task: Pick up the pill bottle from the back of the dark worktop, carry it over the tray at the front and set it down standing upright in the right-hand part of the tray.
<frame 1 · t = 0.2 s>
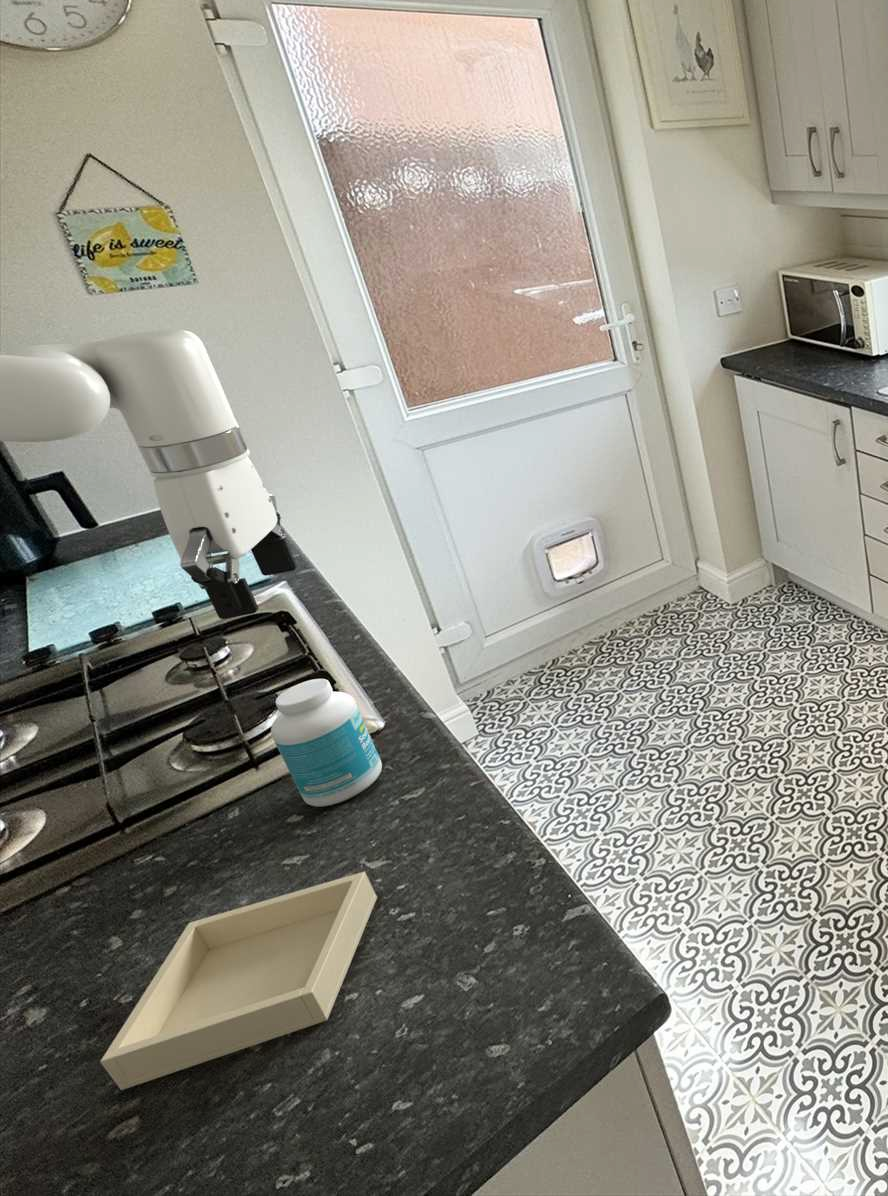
hand: (261, 592, 87), 24 cm above the counter, tool pointing down, fingers open, 9 cm apart
pill bottle: (346, 786, 92), on the counter
tray: (263, 983, 69), on the counter
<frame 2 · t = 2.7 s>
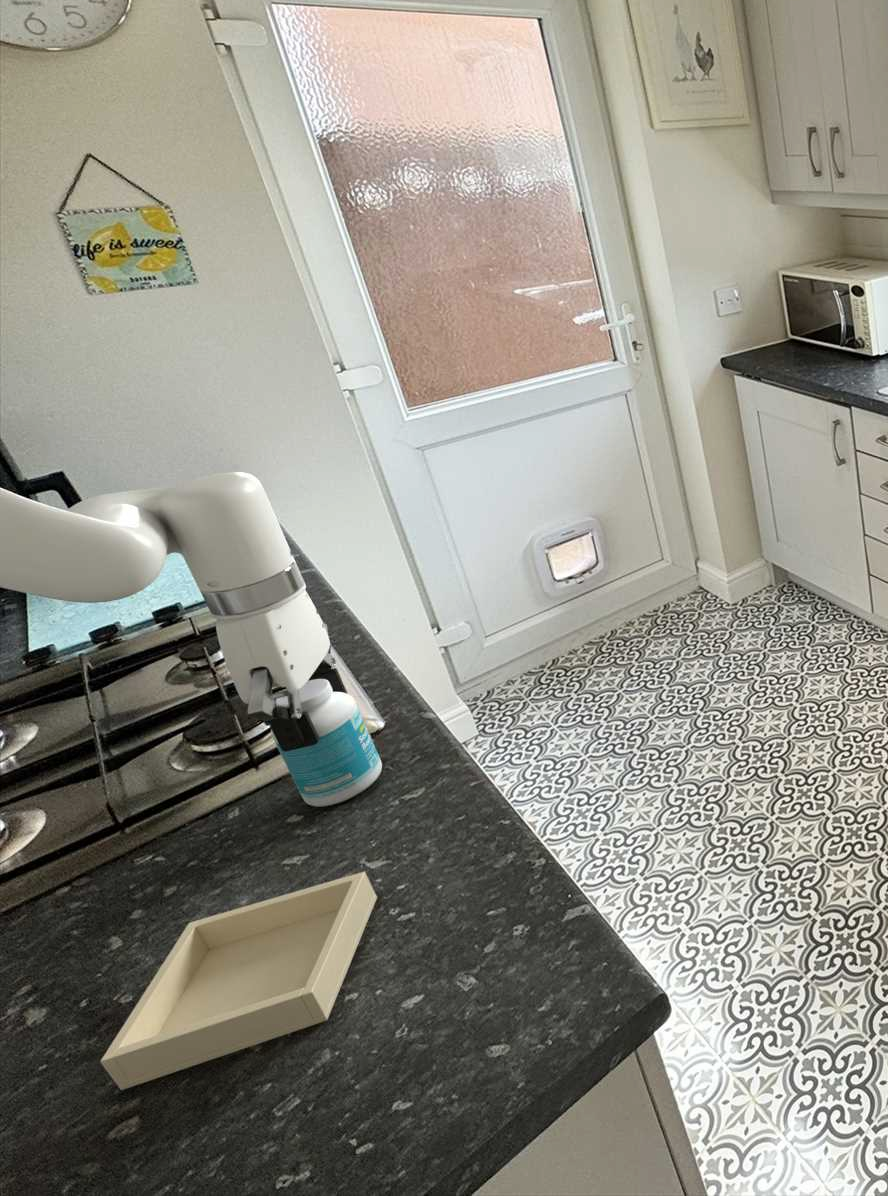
hand: (316, 721, 88), 9 cm above the counter, tool pointing down, fingers closed on pill bottle, 7 cm apart
pill bottle: (346, 786, 92), on the counter, touching gripper
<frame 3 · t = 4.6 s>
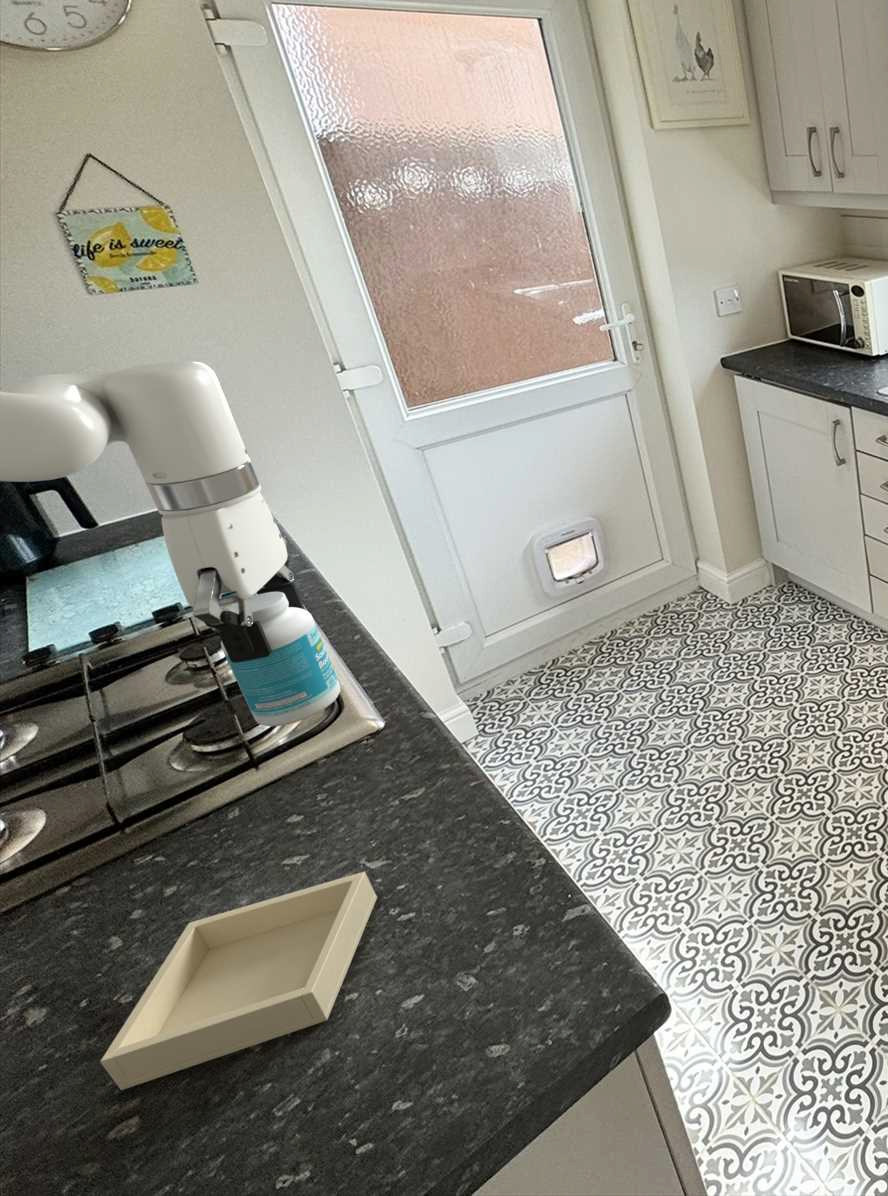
hand: (270, 636, 83), 21 cm above the counter, tool pointing down, fingers closed on pill bottle, 7 cm apart
pill bottle: (301, 708, 87), point 12 cm above the counter, touching gripper
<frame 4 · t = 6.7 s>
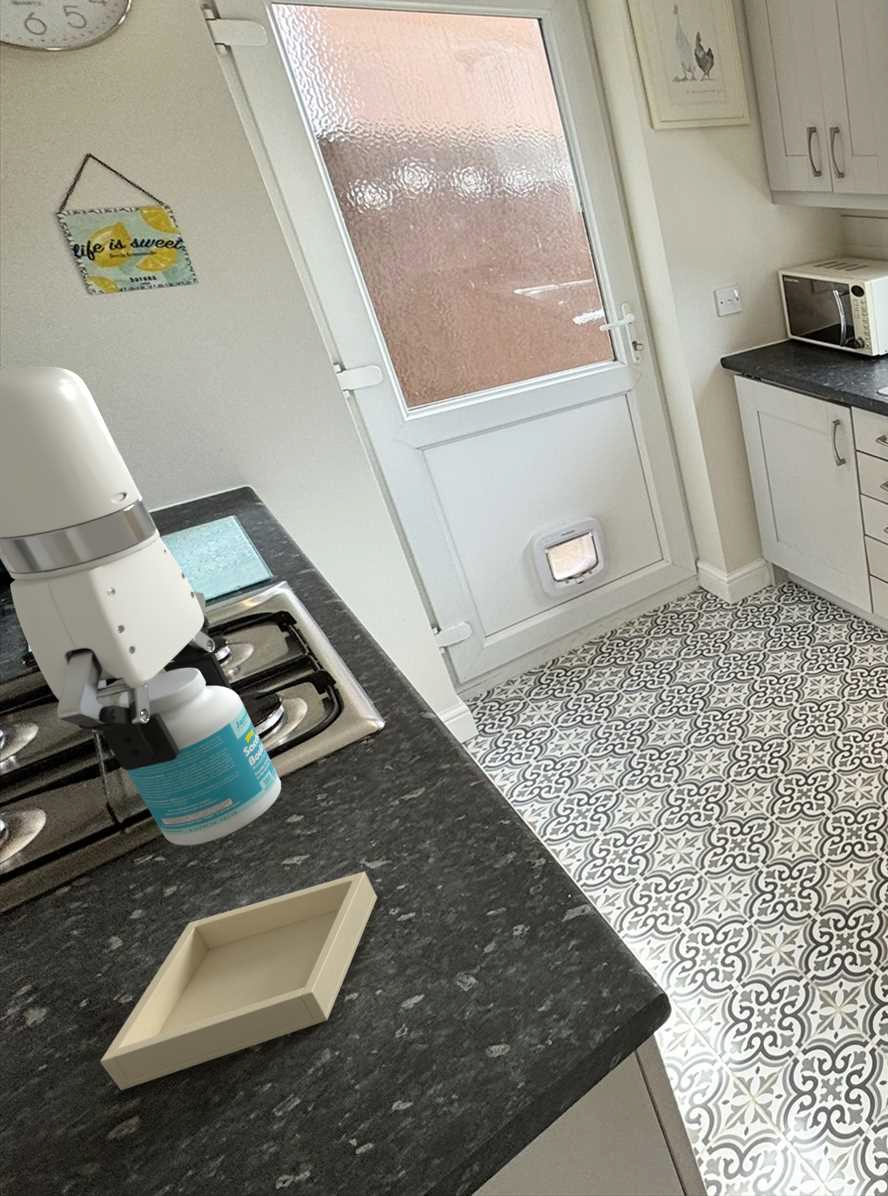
hand: (181, 727, 63), 26 cm above the counter, tool pointing down, fingers closed on pill bottle, 7 cm apart
pill bottle: (229, 815, 67), point 16 cm above the counter, touching gripper
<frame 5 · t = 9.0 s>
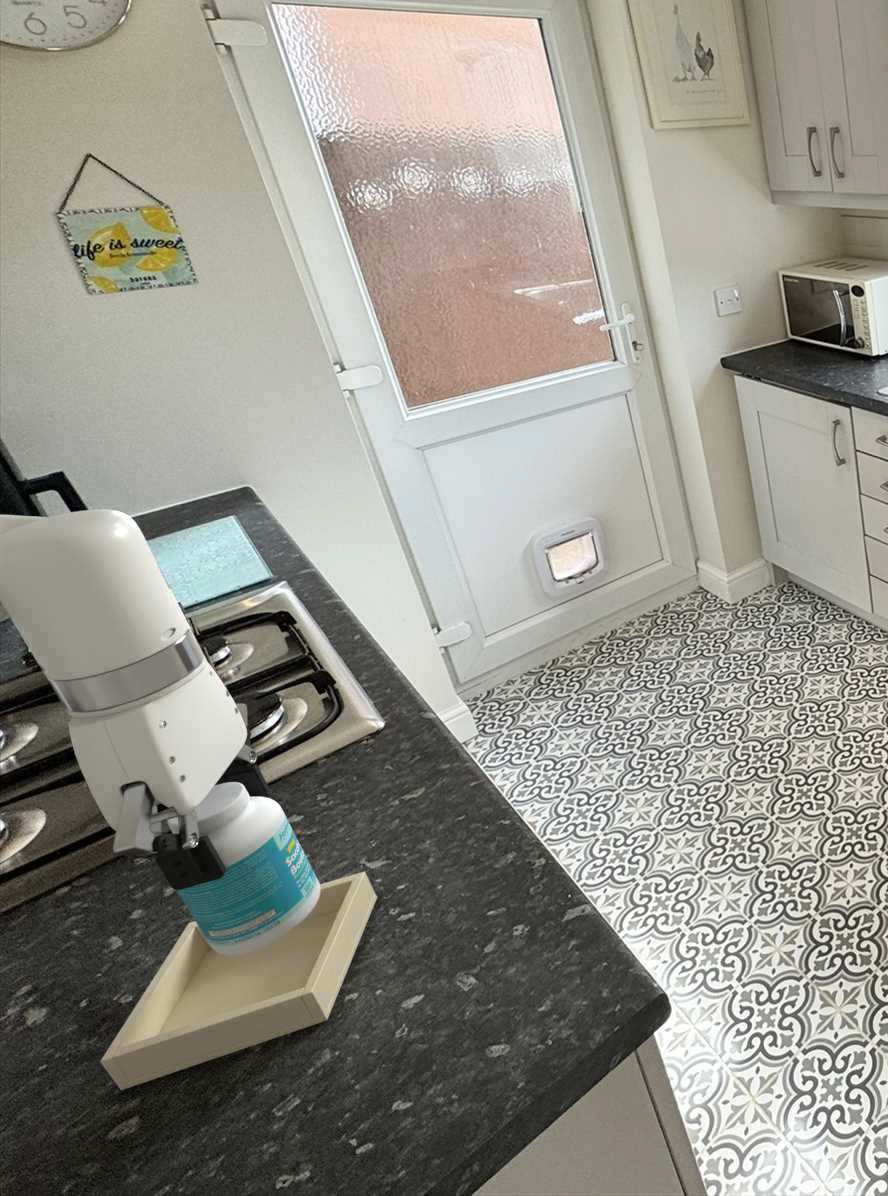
hand: (227, 841, 65), 15 cm above the counter, tool pointing down, fingers closed on pill bottle, 7 cm apart
pill bottle: (271, 920, 69), point 6 cm above the counter, touching gripper
when the fingers open (10 cm above the counter, at t = 10.9 s): pill bottle stays where it is, resting on tray.
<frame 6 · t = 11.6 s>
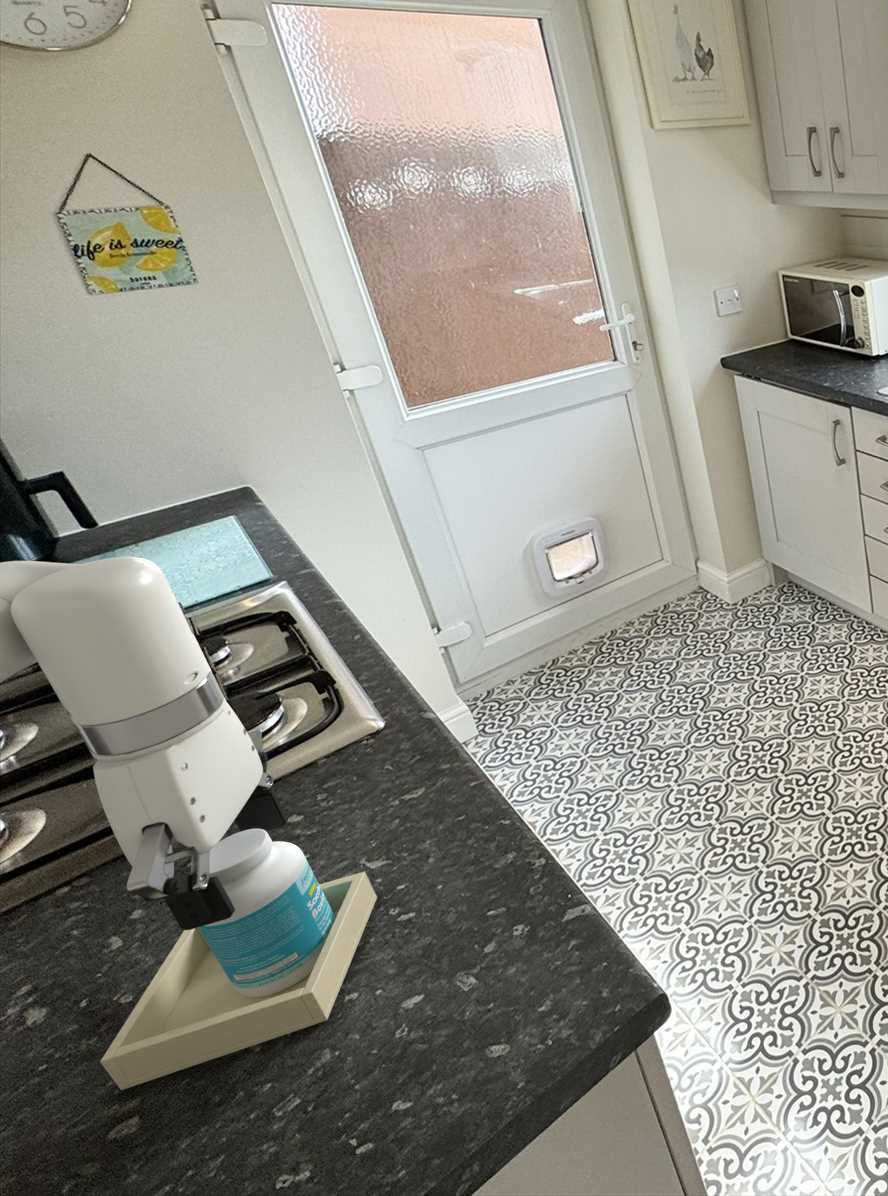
hand: (240, 872, 67), 12 cm above the counter, tool pointing down, fingers open, 9 cm apart
pill bottle: (292, 961, 71), resting on tray
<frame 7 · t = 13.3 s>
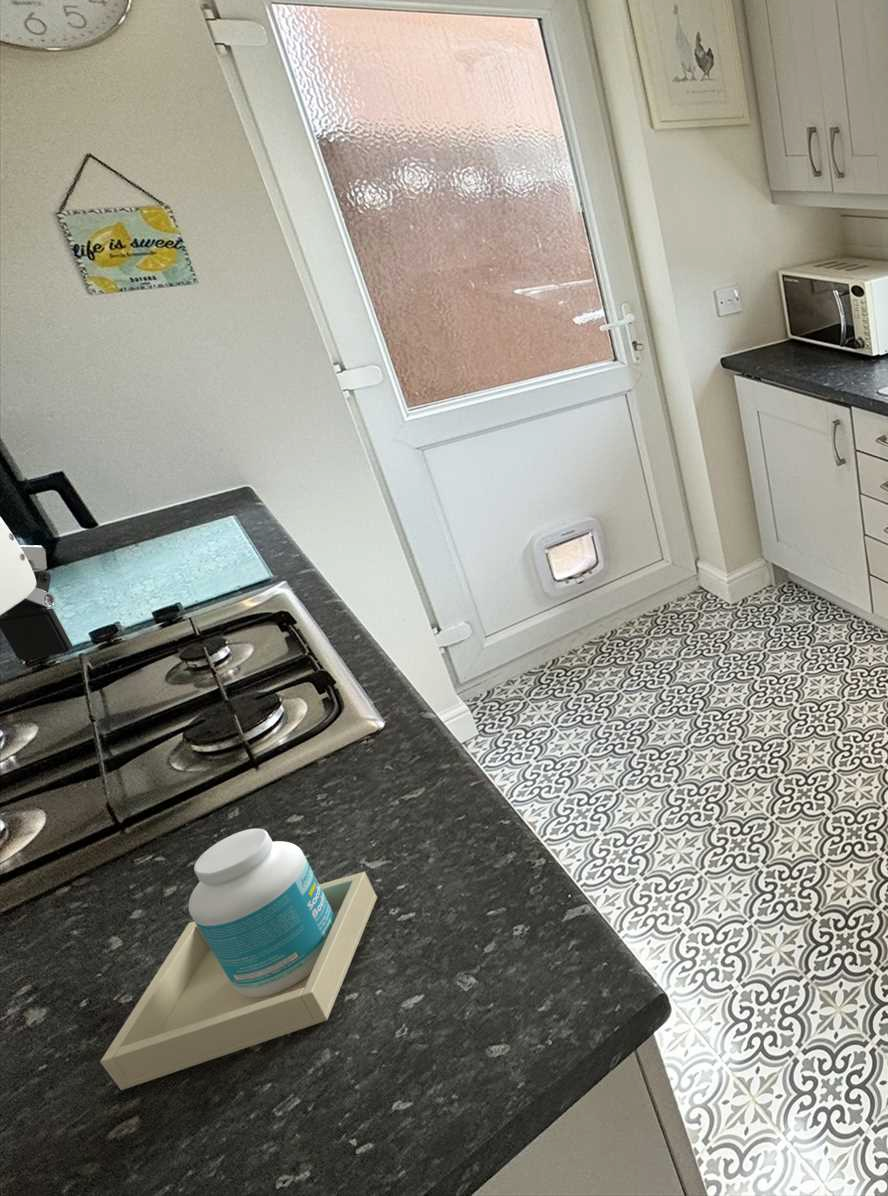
hand: (1, 689, 61), 31 cm above the counter, tool pointing down, fingers open, 9 cm apart
nothing on the counter moved.
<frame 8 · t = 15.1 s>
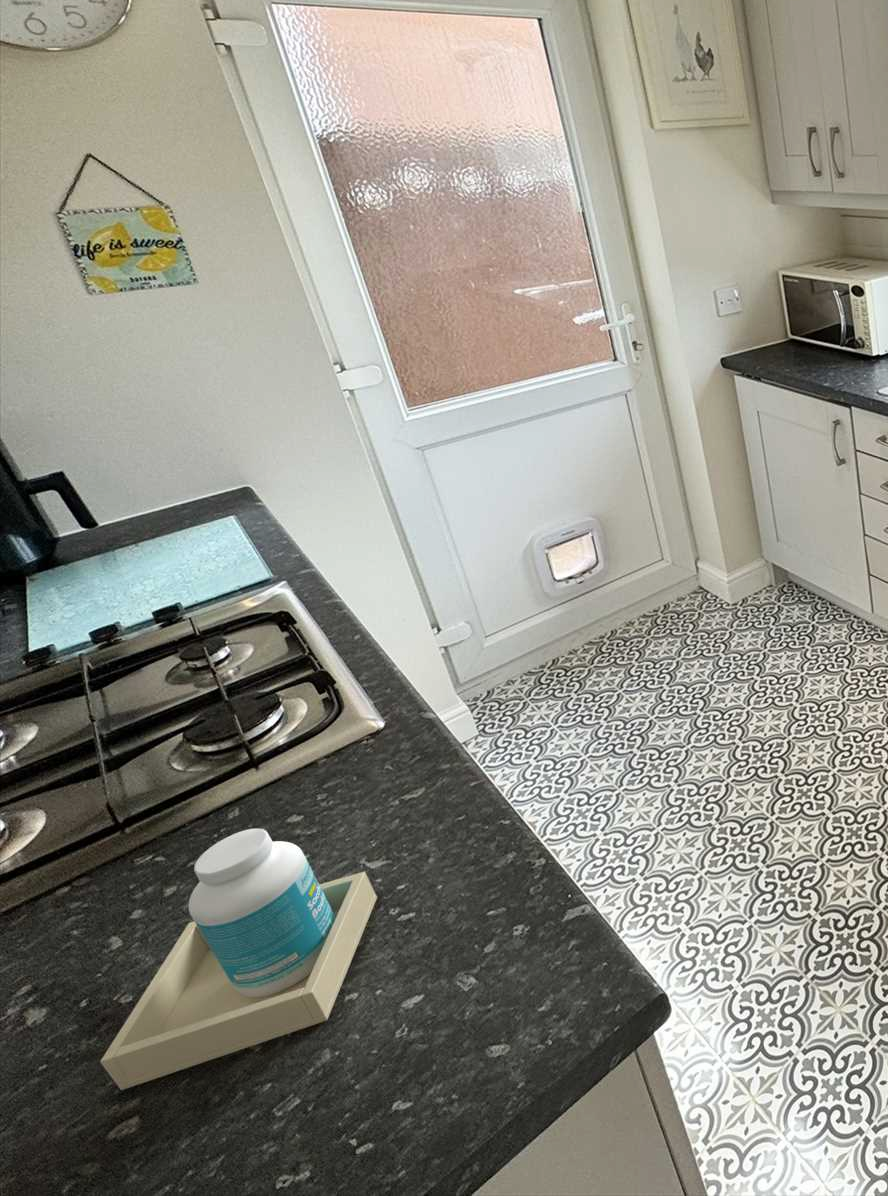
nothing on the counter moved.
at the end: pill bottle 0.3 cm from the target spot in the tray, point 0.4 cm above the tray's base; pill bottle tilted 0°; the gripper is holding nothing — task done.
